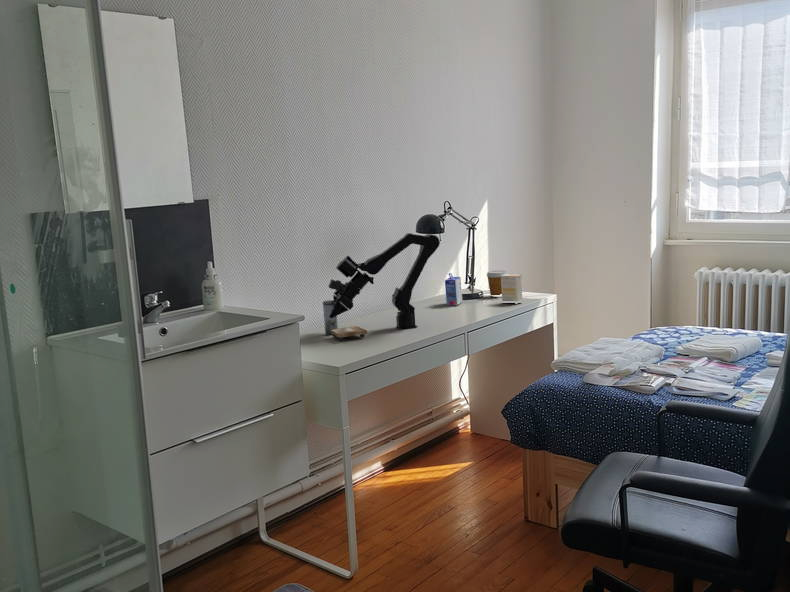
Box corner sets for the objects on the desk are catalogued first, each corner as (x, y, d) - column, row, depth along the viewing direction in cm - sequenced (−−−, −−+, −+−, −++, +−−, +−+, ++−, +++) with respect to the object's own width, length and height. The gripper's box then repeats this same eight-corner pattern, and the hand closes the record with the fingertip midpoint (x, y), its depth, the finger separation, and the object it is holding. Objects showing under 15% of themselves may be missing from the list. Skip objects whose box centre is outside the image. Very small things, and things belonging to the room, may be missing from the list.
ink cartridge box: (451, 302, 353) (449, 271, 351) (462, 302, 351) (461, 271, 349) (445, 306, 344) (444, 274, 342) (457, 306, 342) (456, 274, 340)
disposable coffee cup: (507, 294, 366) (507, 270, 364) (507, 298, 357) (506, 272, 355) (488, 295, 368) (487, 270, 366) (486, 298, 359) (485, 273, 357)
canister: (335, 332, 299) (333, 299, 297) (340, 334, 294) (337, 301, 292) (323, 334, 297) (320, 301, 295) (327, 336, 292) (325, 303, 290)
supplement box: (522, 303, 340) (522, 274, 338) (517, 304, 337) (516, 275, 335) (507, 302, 346) (506, 273, 344) (501, 303, 342) (500, 275, 340)
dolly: (357, 333, 294) (356, 325, 293) (367, 337, 284) (367, 330, 283) (330, 336, 290) (329, 329, 289) (339, 341, 280) (339, 334, 279)
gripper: (337, 269, 302) (311, 298, 302) (342, 274, 284) (315, 305, 283) (358, 287, 304) (332, 316, 304) (364, 293, 286) (337, 324, 286)
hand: (329, 315), depth 294 cm, fingers open, 9 cm apart
